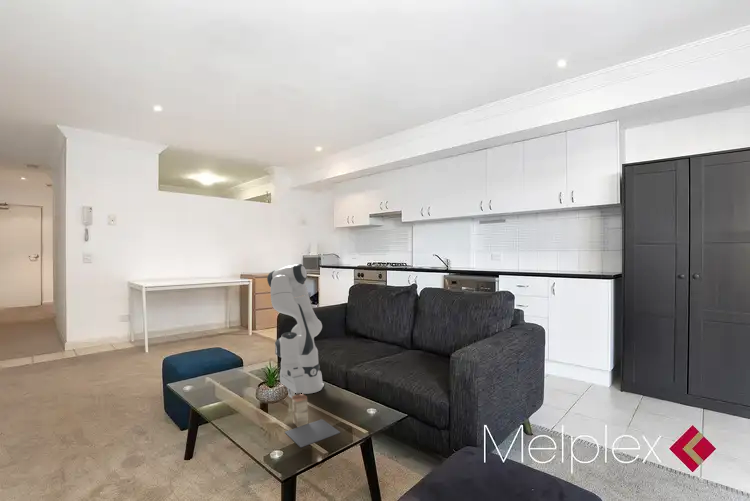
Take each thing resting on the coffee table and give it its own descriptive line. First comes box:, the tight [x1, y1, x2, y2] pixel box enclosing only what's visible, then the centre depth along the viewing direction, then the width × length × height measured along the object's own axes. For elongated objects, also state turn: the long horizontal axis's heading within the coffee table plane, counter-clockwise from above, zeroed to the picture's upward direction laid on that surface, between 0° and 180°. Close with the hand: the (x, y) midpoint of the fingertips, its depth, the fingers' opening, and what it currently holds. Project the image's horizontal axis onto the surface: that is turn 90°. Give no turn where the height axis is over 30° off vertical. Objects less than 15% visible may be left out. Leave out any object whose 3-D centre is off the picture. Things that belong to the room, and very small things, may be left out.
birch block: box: [291, 393, 309, 428], centre depth 164 cm, size 5×5×12 cm
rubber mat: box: [284, 418, 341, 448], centre depth 155 cm, size 16×18×1 cm
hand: (291, 397), depth 171 cm, fingers closed
